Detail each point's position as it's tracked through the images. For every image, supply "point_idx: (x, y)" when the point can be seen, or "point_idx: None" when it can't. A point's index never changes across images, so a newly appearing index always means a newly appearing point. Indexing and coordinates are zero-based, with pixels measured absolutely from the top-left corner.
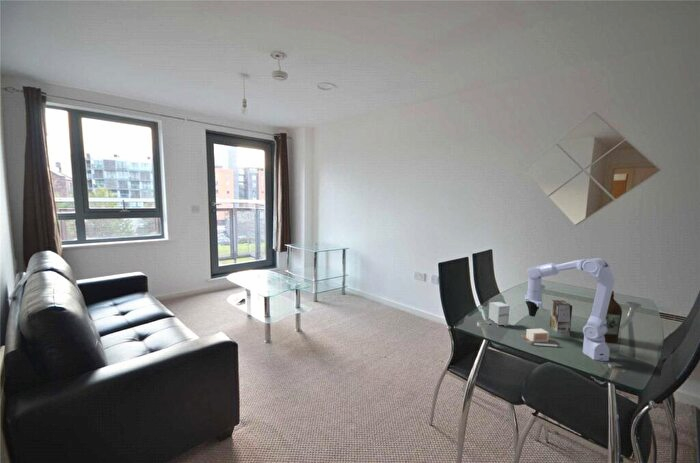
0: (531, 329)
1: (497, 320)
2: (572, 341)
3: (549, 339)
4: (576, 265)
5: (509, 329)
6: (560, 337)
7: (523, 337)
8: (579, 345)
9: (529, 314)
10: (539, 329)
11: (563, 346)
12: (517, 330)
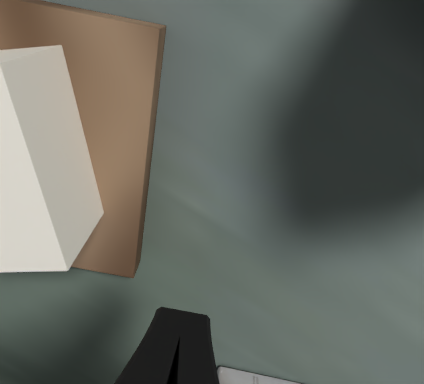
0: (1, 129)
1: None
2: None
3: None
4: None
5: (394, 33)
6: None
7: (67, 16)
8: (61, 376)
9: (192, 327)
10: (29, 232)
11: (21, 286)
12: (347, 117)
